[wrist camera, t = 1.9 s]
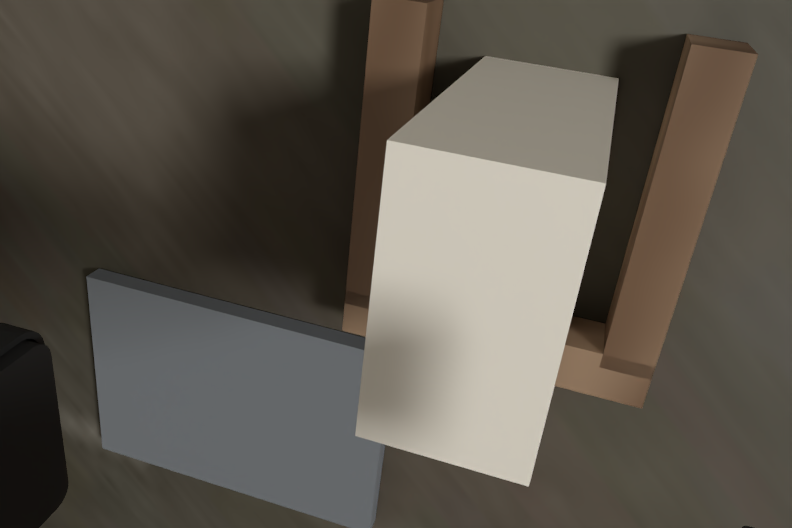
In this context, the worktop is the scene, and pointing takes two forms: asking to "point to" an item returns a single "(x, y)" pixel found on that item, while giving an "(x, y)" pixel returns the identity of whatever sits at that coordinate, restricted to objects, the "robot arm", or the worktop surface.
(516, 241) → the cream blank
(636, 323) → the walnut slot rack
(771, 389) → the worktop surface
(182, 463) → the charcoal pad
